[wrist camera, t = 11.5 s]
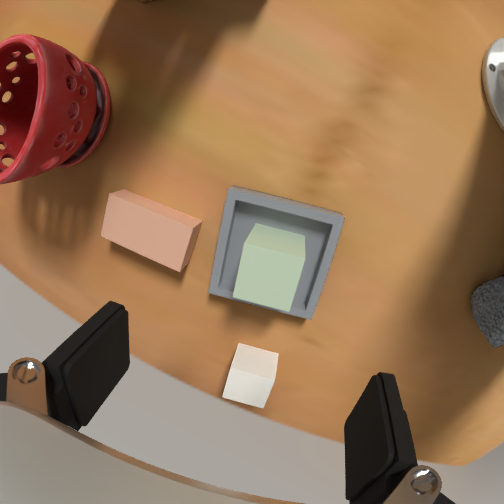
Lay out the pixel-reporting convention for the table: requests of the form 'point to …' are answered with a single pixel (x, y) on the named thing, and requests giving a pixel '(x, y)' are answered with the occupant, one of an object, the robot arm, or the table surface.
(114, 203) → the terracotta brick
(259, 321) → the table surface
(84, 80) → the plant pot
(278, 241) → the sage block
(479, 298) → the koala plush
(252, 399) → the cream cube
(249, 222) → the grey tray
